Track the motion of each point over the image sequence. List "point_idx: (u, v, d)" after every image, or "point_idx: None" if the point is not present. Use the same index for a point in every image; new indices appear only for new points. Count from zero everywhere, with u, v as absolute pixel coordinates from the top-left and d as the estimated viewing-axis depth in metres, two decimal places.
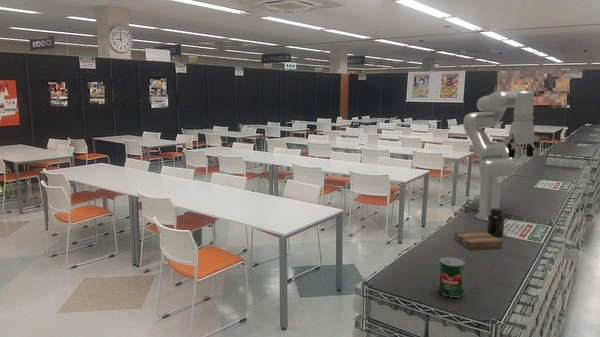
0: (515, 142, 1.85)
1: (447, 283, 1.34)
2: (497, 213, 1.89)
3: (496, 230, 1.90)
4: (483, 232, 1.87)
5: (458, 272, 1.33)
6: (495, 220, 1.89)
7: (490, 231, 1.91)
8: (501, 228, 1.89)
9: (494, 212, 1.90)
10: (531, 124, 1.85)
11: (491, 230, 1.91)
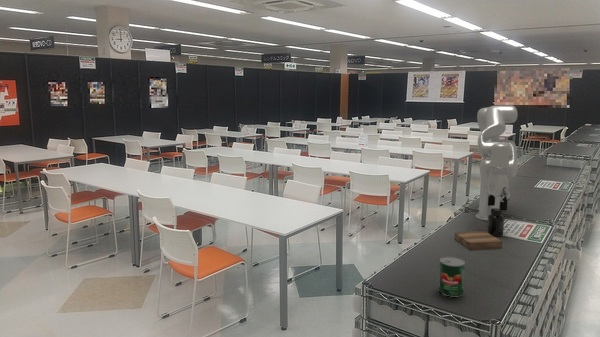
0: None
1: (447, 283, 1.34)
2: (497, 213, 1.89)
3: (496, 230, 1.90)
4: (483, 232, 1.87)
5: (458, 272, 1.33)
6: (495, 220, 1.89)
7: (490, 231, 1.91)
8: (501, 228, 1.89)
9: (494, 212, 1.90)
10: None
11: (491, 230, 1.91)
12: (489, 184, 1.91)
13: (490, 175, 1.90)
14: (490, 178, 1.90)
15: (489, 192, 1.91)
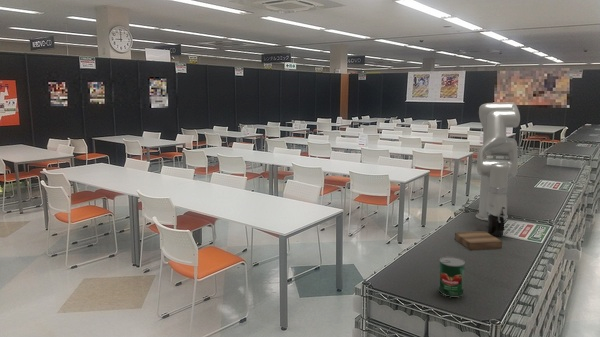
0: None
1: (447, 283, 1.34)
2: None
3: (496, 230, 1.90)
4: (483, 232, 1.87)
5: (458, 272, 1.33)
6: (495, 220, 1.89)
7: (490, 231, 1.91)
8: None
9: None
10: None
11: (491, 230, 1.91)
12: (488, 203, 1.93)
13: (489, 194, 1.92)
14: (489, 197, 1.92)
15: (488, 211, 1.93)
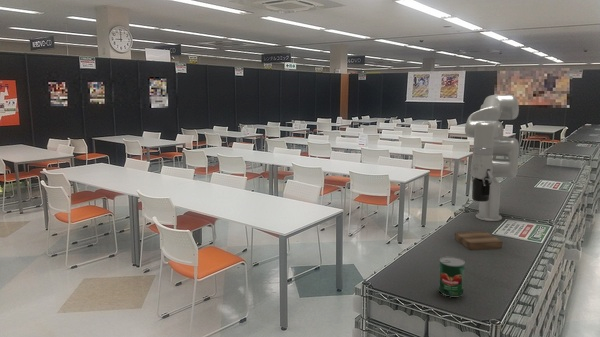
0: None
1: (447, 283, 1.34)
2: None
3: (481, 195, 1.75)
4: (483, 232, 1.87)
5: (458, 272, 1.33)
6: (480, 183, 1.75)
7: (475, 196, 1.77)
8: None
9: None
10: None
11: (475, 194, 1.77)
12: (472, 166, 1.79)
13: (473, 156, 1.78)
14: (473, 159, 1.78)
15: (472, 174, 1.79)
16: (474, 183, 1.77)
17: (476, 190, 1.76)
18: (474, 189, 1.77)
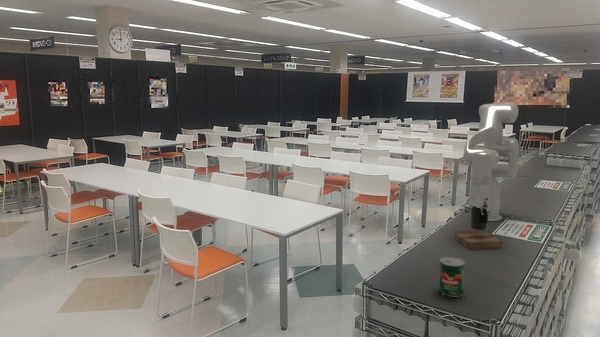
0: None
1: (447, 283, 1.34)
2: None
3: (479, 223, 1.77)
4: (483, 232, 1.87)
5: (458, 272, 1.33)
6: (478, 212, 1.77)
7: (473, 224, 1.79)
8: None
9: None
10: None
11: (473, 222, 1.79)
12: (471, 194, 1.81)
13: (472, 185, 1.80)
14: (471, 188, 1.80)
15: (470, 203, 1.81)
16: (472, 211, 1.79)
17: (474, 218, 1.78)
18: (472, 217, 1.79)
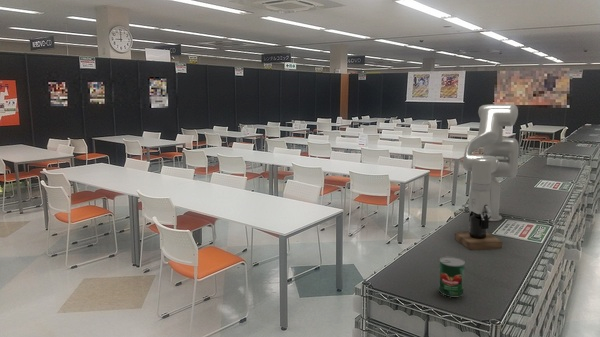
0: None
1: (447, 283, 1.34)
2: None
3: (478, 232, 1.78)
4: None
5: (458, 272, 1.33)
6: (477, 221, 1.78)
7: (472, 233, 1.80)
8: (484, 230, 1.78)
9: None
10: None
11: (473, 231, 1.80)
12: (470, 200, 1.81)
13: (471, 191, 1.80)
14: (471, 194, 1.80)
15: (470, 209, 1.81)
16: (471, 220, 1.80)
17: (473, 227, 1.79)
18: (471, 226, 1.80)
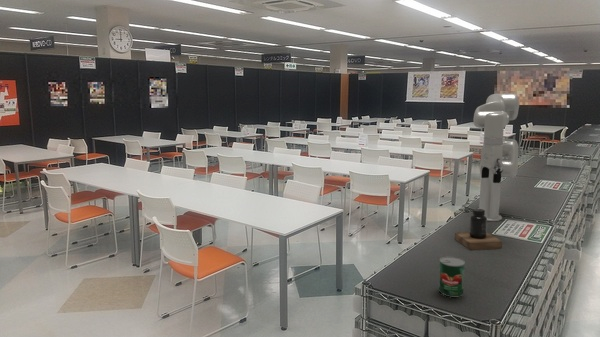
0: None
1: (447, 283, 1.34)
2: (479, 214, 1.78)
3: (478, 232, 1.78)
4: None
5: (458, 272, 1.33)
6: (477, 221, 1.78)
7: (472, 233, 1.80)
8: (484, 230, 1.78)
9: (476, 213, 1.79)
10: None
11: (473, 231, 1.80)
12: (483, 156, 1.83)
13: (484, 146, 1.82)
14: (484, 149, 1.82)
15: (483, 164, 1.84)
16: (471, 220, 1.80)
17: (473, 227, 1.79)
18: (471, 226, 1.80)
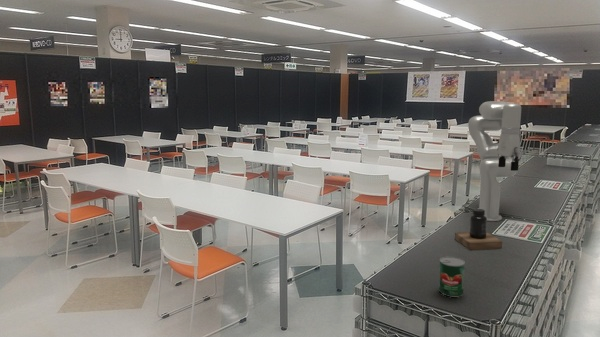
0: None
1: (447, 283, 1.34)
2: (479, 214, 1.78)
3: (478, 232, 1.78)
4: None
5: (458, 272, 1.33)
6: (477, 221, 1.78)
7: (472, 233, 1.80)
8: (484, 230, 1.78)
9: (476, 213, 1.79)
10: None
11: (473, 231, 1.80)
12: (500, 145, 1.92)
13: (501, 136, 1.91)
14: (501, 139, 1.91)
15: (500, 153, 1.92)
16: (471, 220, 1.80)
17: (473, 227, 1.79)
18: (471, 226, 1.80)
